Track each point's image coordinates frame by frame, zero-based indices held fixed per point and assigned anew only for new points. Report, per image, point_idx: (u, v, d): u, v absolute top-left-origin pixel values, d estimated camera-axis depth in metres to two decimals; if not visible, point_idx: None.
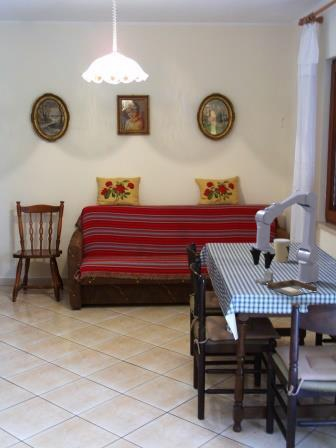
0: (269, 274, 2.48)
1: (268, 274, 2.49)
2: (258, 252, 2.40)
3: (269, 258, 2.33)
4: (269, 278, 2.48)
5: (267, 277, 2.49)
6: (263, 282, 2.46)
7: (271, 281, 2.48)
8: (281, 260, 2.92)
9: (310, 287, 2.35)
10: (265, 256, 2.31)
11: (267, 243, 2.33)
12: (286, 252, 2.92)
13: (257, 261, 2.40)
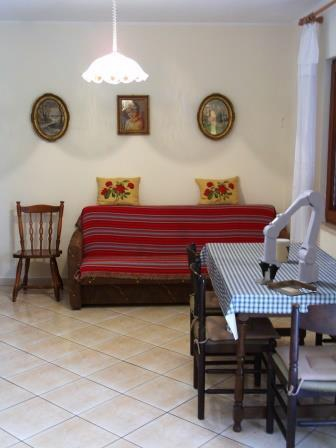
0: (269, 274, 2.48)
1: (268, 274, 2.49)
2: (267, 265, 2.51)
3: (274, 270, 2.47)
4: (269, 278, 2.48)
5: (267, 277, 2.49)
6: (263, 282, 2.46)
7: (271, 281, 2.48)
8: (281, 260, 2.92)
9: (310, 287, 2.35)
10: (270, 268, 2.45)
11: (274, 256, 2.46)
12: (286, 252, 2.92)
13: None
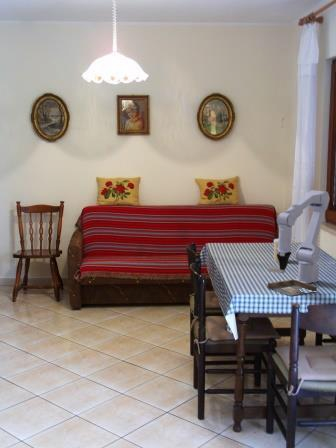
0: None
1: None
2: (286, 255, 2.41)
3: (283, 260, 2.36)
4: None
5: None
6: (271, 269, 2.39)
7: (282, 271, 2.38)
8: None
9: (310, 287, 2.35)
10: None
11: (284, 245, 2.35)
12: None
13: None
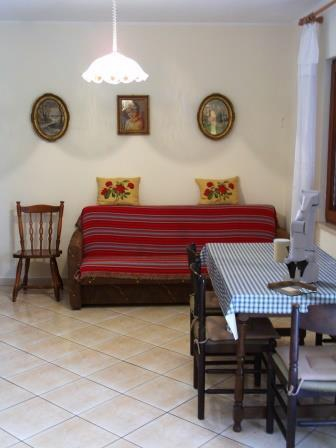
0: None
1: None
2: (301, 264, 2.32)
3: (292, 268, 2.29)
4: None
5: None
6: (283, 277, 2.35)
7: (292, 279, 2.31)
8: (281, 260, 2.92)
9: (310, 287, 2.35)
10: None
11: (293, 253, 2.29)
12: (286, 252, 2.92)
13: None
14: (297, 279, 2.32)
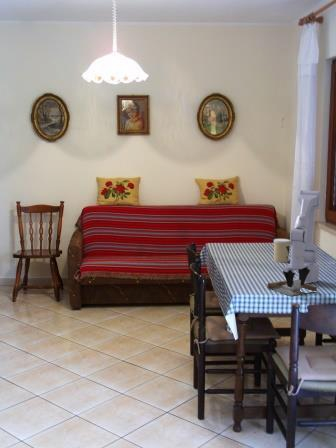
0: None
1: None
2: (303, 272, 2.33)
3: None
4: None
5: None
6: (283, 287, 2.36)
7: (291, 290, 2.32)
8: (281, 260, 2.92)
9: (310, 287, 2.35)
10: None
11: (293, 261, 2.29)
12: (286, 252, 2.92)
13: (302, 281, 2.34)
14: (297, 289, 2.33)
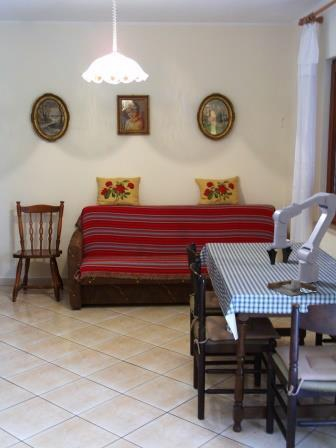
0: None
1: None
2: (286, 251, 2.47)
3: (272, 255, 2.43)
4: None
5: None
6: (283, 287, 2.36)
7: (291, 290, 2.32)
8: (281, 260, 2.92)
9: (310, 287, 2.35)
10: None
11: (275, 241, 2.43)
12: None
13: (285, 260, 2.48)
14: (297, 289, 2.33)
